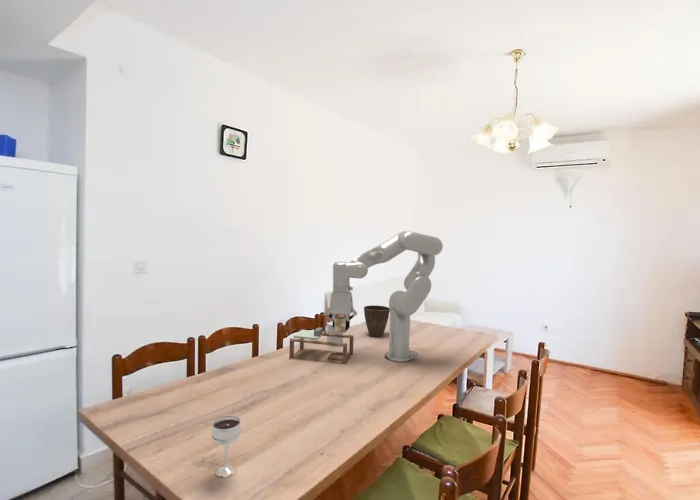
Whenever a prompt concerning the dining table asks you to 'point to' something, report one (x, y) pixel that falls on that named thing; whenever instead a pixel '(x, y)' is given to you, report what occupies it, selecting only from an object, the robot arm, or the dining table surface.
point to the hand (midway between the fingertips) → (341, 328)
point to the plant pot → (376, 319)
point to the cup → (331, 330)
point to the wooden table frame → (322, 354)
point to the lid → (310, 334)
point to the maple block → (340, 324)
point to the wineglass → (226, 436)
